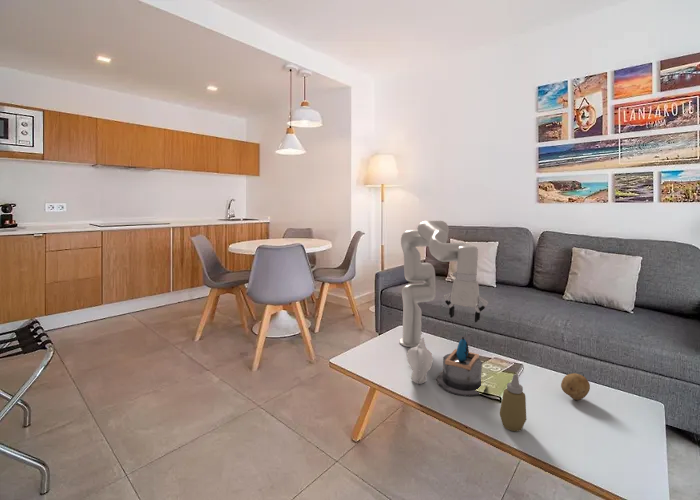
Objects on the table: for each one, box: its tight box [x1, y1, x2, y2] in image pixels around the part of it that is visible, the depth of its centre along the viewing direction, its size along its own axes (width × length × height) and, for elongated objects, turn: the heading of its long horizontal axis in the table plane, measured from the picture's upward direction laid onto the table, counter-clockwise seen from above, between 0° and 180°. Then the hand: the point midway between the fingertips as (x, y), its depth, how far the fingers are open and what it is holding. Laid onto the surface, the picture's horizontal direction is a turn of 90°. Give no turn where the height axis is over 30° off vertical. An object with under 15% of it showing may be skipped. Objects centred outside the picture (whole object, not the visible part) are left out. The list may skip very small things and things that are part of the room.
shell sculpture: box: [406, 337, 434, 385], centre depth 146 cm, size 8×8×18 cm
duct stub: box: [437, 348, 483, 397], centre depth 145 cm, size 19×19×12 cm
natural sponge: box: [560, 372, 591, 401], centre depth 135 cm, size 9×9×10 cm
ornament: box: [456, 336, 470, 362], centre depth 144 cm, size 8×5×10 cm, turn 156°
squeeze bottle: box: [499, 374, 527, 432], centre depth 117 cm, size 8×8×18 cm
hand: (464, 319), depth 143 cm, fingers open, 9 cm apart
